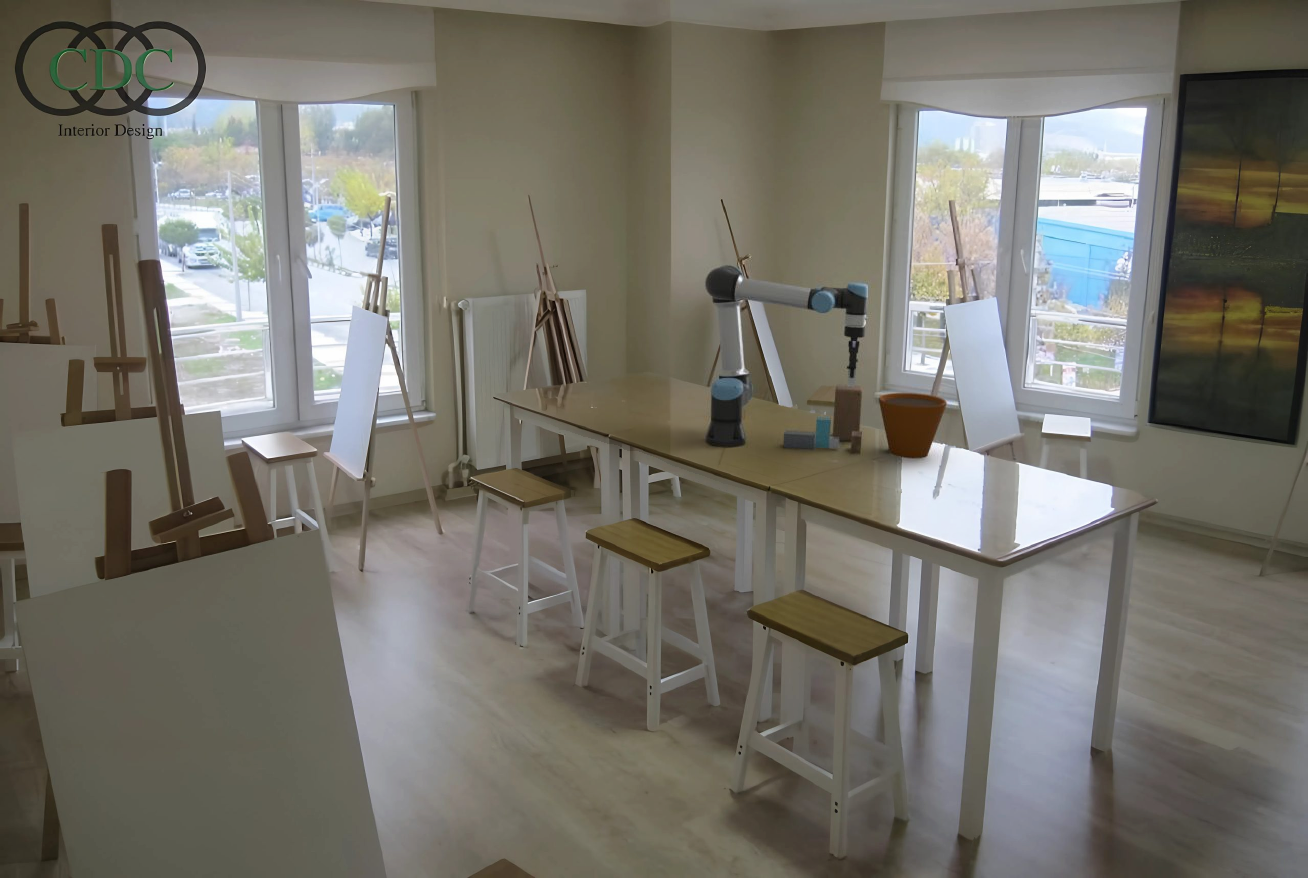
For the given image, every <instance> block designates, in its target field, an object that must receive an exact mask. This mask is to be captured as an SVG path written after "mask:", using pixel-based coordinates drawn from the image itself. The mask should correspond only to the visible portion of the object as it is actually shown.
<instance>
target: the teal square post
mask: <svg viewBox="0 0 1308 878" xmlns="http://www.w3.org/2000/svg"><path fill="white" fill-rule="evenodd" d="M831 421H832V417H827V416H826V417H825V416H817V417H816V423H815V424H816V425H815V436H814V448H817V449H818V448H820V449H839V448H840V440H839V437H835V436H833V435H831V423H832V422H831Z"/></svg>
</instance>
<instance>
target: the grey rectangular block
mask: <svg viewBox="0 0 1308 878" xmlns="http://www.w3.org/2000/svg"><path fill="white" fill-rule="evenodd" d="M815 435H816V431H807V430H806V431H805V430H804V431H803V430H791V429H790V430H789V429H785V430H784V433H783V445H782V446H783V449H790V450H791V449H796V450H805V451H806V450H809V451H813V450H814V449H815V447H814V436H815Z"/></svg>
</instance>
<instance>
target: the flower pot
mask: <svg viewBox="0 0 1308 878" xmlns="http://www.w3.org/2000/svg"><path fill="white" fill-rule="evenodd" d="M878 403H879V407H880V412H881V417H882V422H883V423H882V424H883V426H884V431H885V436H886V437H885V438H886V440H887V441H886V442H887V446H888V451H889V454H891V455H893V456H896V457H900V458H906V459H923V458H927V457H928V456H929V452H930V450H931V447H932V445H933V442H934V439H935V437H936V434H937V432H938V428H939V426H940V423H941V420H942V417H943V416H944V412H945V410H946V406H947V401H946V400H945V399H944V398H942V397H940V396H935V395H930V394H925V393H916V392H915V393H913V392H894V393H887V394H886V393H885V394H882V395H880V396H879V398H878Z"/></svg>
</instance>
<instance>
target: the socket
mask: <svg viewBox="0 0 1308 878" xmlns="http://www.w3.org/2000/svg"><path fill="white" fill-rule="evenodd" d="M862 436H863V431H861V430H860V431H852V440H851V441H850V443H851V444H850V454H853V455H854V454H855V455H861V451H862V438H863V437H862Z"/></svg>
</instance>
